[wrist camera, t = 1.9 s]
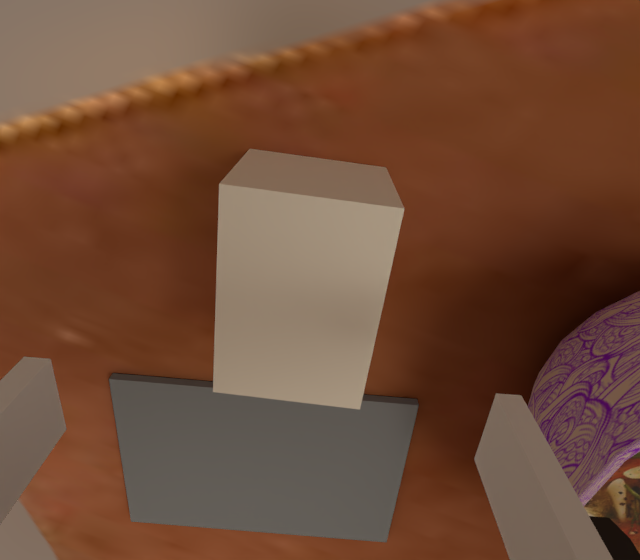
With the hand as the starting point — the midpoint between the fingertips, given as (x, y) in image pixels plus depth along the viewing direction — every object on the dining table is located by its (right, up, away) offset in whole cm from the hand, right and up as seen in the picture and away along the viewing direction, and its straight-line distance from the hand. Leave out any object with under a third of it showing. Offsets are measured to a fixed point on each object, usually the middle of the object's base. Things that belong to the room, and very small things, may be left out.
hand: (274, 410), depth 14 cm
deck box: (+1, +6, +12) cm, 13 cm away
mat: (-3, -9, +19) cm, 21 cm away
